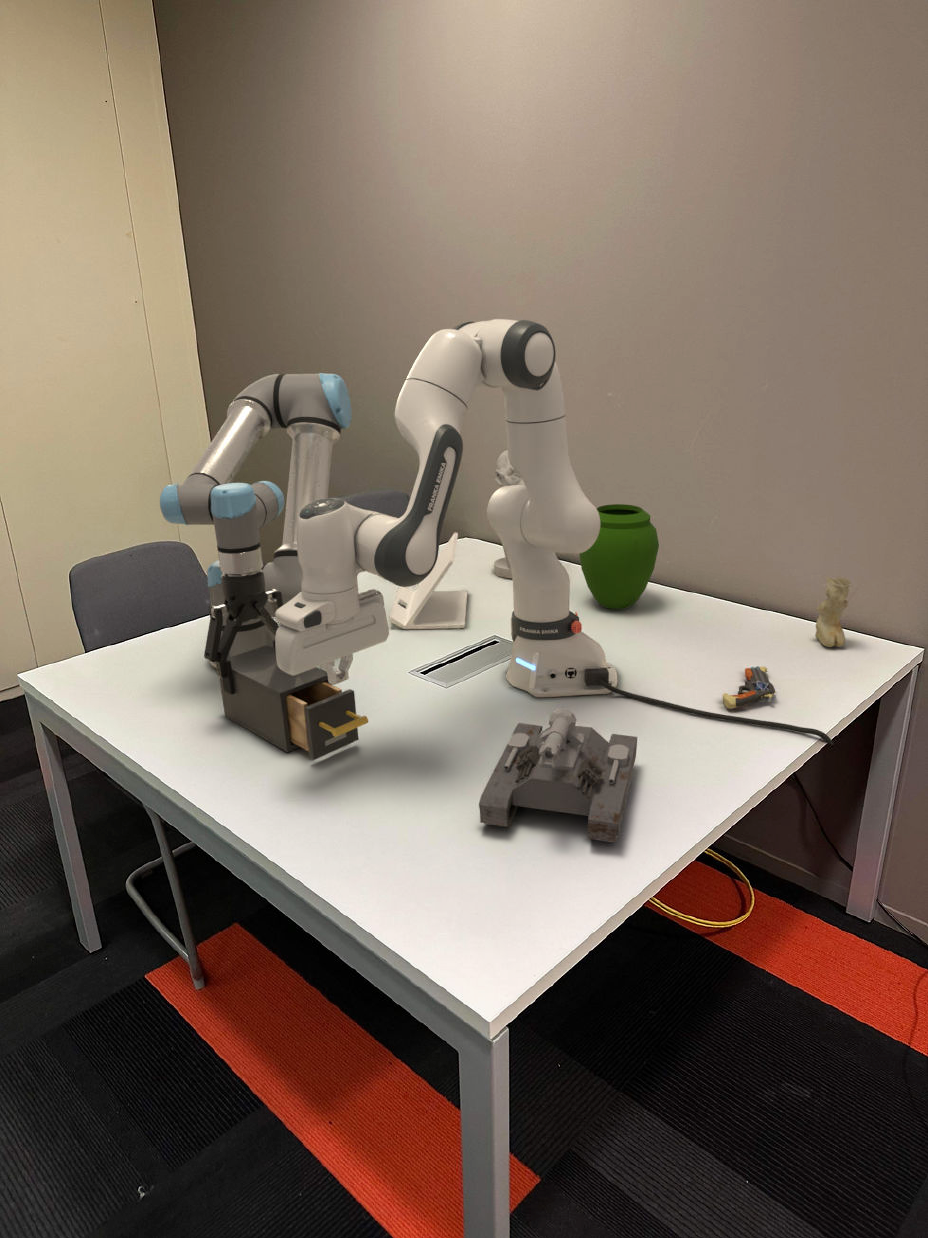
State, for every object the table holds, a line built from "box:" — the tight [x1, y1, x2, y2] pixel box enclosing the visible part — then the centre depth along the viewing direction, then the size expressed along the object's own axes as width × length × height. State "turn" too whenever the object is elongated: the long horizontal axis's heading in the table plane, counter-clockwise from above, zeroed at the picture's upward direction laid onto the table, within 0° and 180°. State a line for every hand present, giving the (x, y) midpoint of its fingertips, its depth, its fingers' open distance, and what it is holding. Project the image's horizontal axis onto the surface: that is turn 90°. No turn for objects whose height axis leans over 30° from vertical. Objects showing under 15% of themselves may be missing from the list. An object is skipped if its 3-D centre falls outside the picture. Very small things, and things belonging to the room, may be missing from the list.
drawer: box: [285, 681, 369, 761], centre depth 150 cm, size 25×10×10 cm, turn 45°
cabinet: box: [218, 645, 332, 753], centre depth 157 cm, size 21×11×11 cm, turn 45°
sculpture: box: [814, 576, 852, 648], centre depth 185 cm, size 6×7×15 cm
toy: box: [478, 707, 638, 844], centre depth 131 cm, size 25×20×15 cm
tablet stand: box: [388, 531, 468, 630], centre depth 211 cm, size 18×25×17 cm
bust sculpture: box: [485, 449, 525, 579], centre depth 231 cm, size 16×24×35 cm
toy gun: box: [722, 665, 778, 710], centre depth 166 cm, size 3×19×10 cm
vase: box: [578, 503, 660, 610], centre depth 210 cm, size 20×20×24 cm
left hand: (256, 682), depth 161 cm, fingers closed on cabinet, 11 cm apart
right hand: (338, 681), depth 140 cm, fingers closed
